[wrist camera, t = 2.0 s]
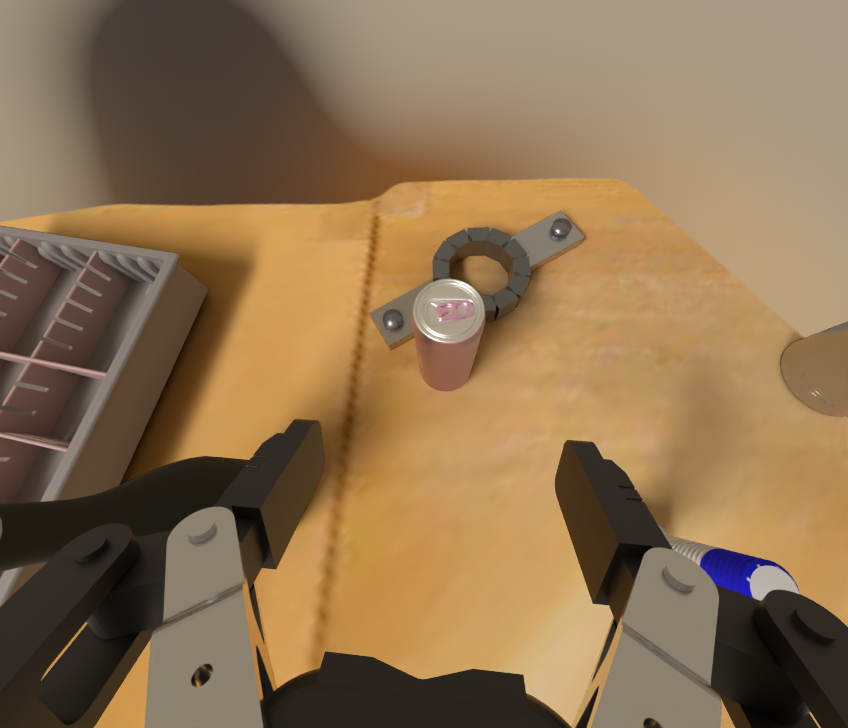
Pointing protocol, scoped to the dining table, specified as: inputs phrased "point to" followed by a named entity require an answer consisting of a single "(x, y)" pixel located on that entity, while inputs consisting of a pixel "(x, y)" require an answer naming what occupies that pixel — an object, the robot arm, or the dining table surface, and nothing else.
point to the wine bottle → (114, 509)
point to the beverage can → (447, 332)
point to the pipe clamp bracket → (510, 251)
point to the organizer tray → (81, 362)
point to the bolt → (735, 568)
